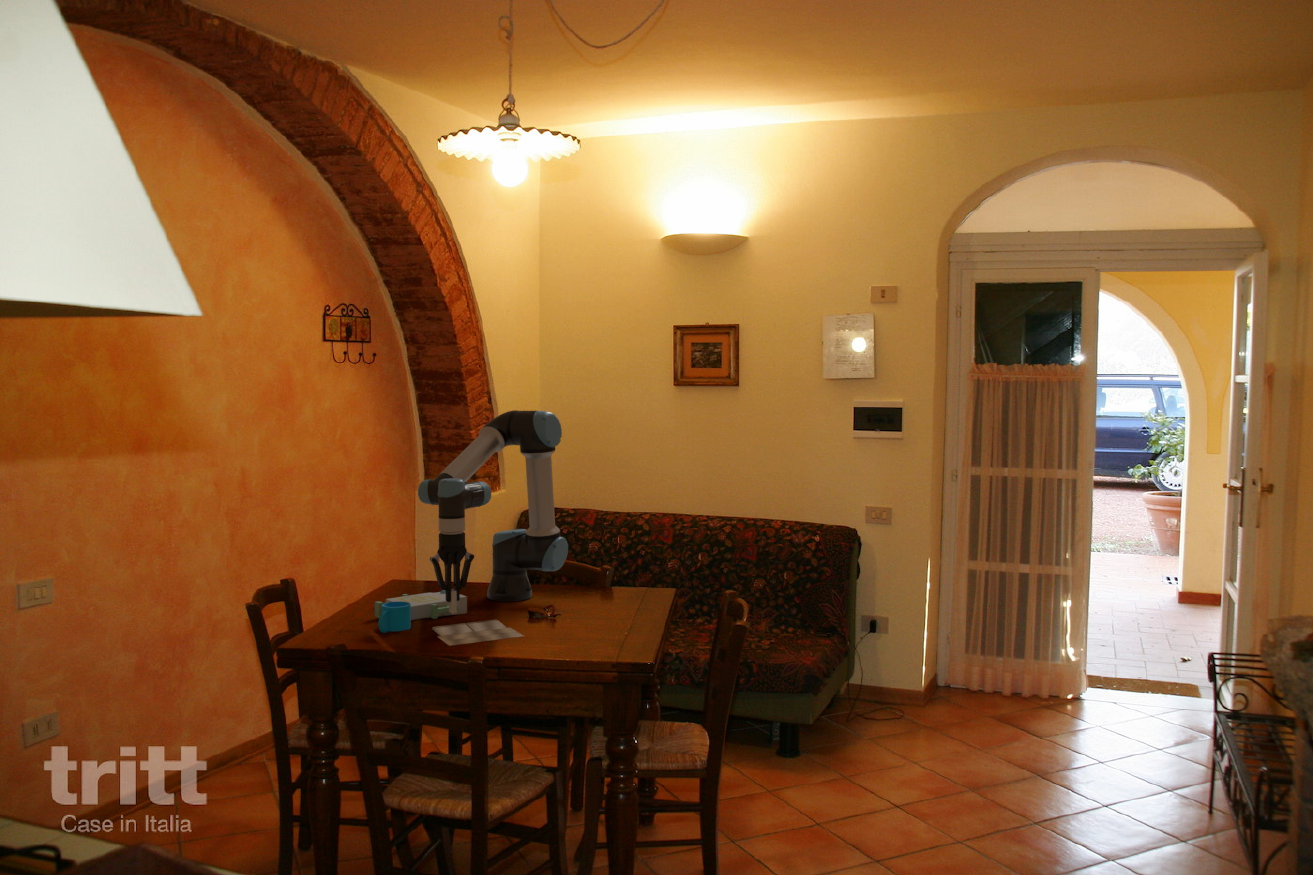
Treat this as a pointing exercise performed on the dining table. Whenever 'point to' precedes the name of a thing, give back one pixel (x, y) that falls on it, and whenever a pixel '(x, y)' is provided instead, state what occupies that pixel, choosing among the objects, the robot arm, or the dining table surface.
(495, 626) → the grey rectangular panel
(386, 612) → the mug
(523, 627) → the dining table surface
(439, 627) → the plank
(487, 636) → the floor board
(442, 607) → the decorative block
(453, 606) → the robot arm
